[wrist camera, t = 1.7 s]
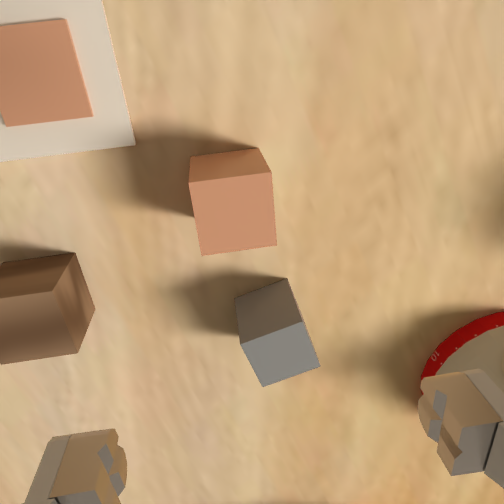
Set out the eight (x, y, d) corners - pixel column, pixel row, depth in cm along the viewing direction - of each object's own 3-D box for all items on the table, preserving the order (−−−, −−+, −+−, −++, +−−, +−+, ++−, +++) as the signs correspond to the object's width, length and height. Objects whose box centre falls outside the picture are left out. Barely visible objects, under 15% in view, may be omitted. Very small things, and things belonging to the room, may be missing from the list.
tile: (-82, -11, 20) (-91, -12, 20) (95, -29, 21) (92, -31, 20) (-9, 161, 25) (-15, 164, 24) (136, 143, 25) (134, 146, 24)
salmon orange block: (190, 156, 26) (188, 182, 21) (258, 147, 26) (271, 171, 21) (201, 218, 28) (201, 255, 23) (263, 210, 28) (276, 245, 23)
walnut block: (4, 261, 28) (-33, 303, 24) (75, 252, 28) (52, 291, 24) (29, 317, 30) (1, 364, 26) (95, 308, 31) (77, 353, 26)
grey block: (234, 298, 32) (240, 344, 27) (287, 278, 31) (302, 321, 26) (253, 337, 34) (262, 387, 29) (303, 319, 33) (320, 366, 29)
